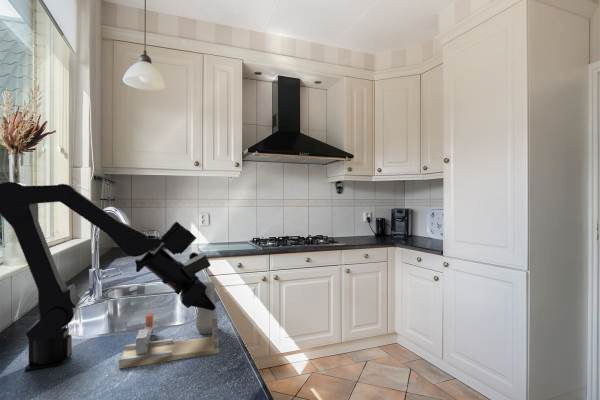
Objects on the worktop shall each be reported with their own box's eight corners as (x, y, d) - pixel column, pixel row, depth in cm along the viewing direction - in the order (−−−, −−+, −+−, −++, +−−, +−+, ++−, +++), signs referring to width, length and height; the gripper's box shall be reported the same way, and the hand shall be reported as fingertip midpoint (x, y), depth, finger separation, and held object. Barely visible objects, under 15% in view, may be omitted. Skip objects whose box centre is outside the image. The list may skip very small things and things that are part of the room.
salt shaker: (211, 336, 81) (211, 285, 81) (191, 334, 82) (190, 284, 82) (221, 327, 86) (221, 279, 86) (202, 326, 88) (202, 279, 88)
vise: (118, 368, 65) (118, 342, 65) (125, 353, 72) (125, 329, 72) (218, 352, 72) (218, 329, 72) (216, 339, 79) (216, 318, 79)
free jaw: (135, 358, 67) (135, 338, 67) (146, 330, 82) (146, 313, 82) (146, 357, 68) (146, 336, 68) (154, 329, 83) (154, 312, 83)
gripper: (197, 248, 74) (243, 289, 79) (185, 240, 91) (224, 274, 96) (160, 287, 70) (211, 327, 76) (155, 271, 87) (197, 305, 92)
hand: (211, 305), depth 85 cm, fingers open, 6 cm apart
